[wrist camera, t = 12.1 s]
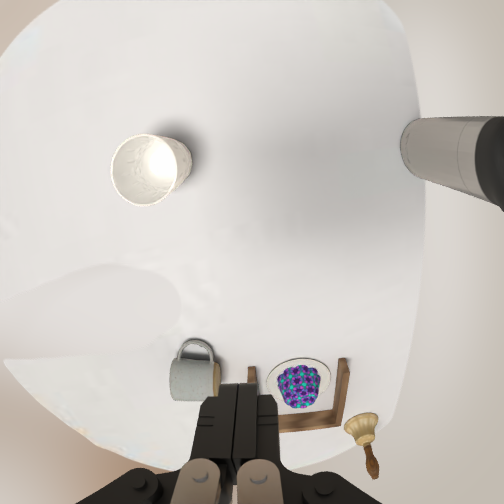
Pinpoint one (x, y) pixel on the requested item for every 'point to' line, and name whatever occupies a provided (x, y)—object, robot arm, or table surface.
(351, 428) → the hand bell
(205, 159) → the table surface
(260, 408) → the robot arm
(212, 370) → the ceramic mug
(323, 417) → the corral
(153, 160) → the white cup
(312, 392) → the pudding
